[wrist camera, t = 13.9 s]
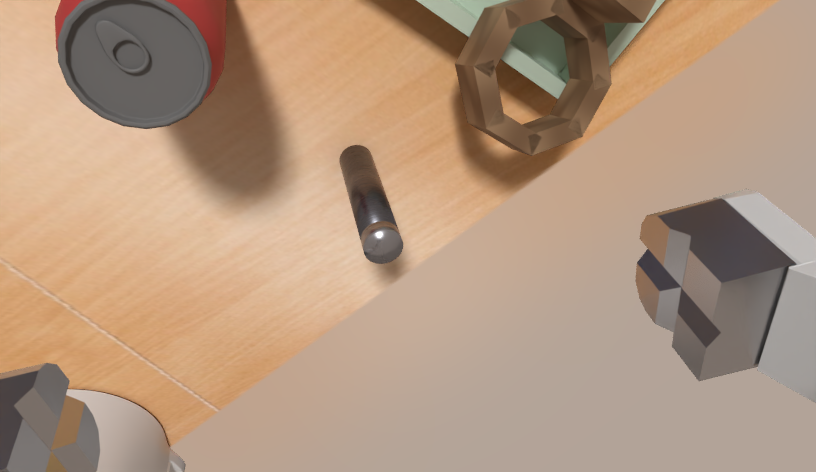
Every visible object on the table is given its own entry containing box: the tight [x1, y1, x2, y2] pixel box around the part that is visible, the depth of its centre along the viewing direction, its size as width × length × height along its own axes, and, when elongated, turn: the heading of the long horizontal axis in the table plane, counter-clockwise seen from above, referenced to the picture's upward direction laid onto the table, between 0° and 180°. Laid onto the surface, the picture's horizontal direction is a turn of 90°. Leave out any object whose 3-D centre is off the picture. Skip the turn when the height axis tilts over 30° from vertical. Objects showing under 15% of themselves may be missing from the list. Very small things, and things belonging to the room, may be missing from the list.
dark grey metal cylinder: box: [340, 145, 403, 264], centre depth 39 cm, size 2×2×10 cm
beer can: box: [55, 0, 227, 129], centre depth 29 cm, size 7×7×12 cm
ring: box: [455, 0, 656, 156], centre depth 35 cm, size 8×13×6 cm, turn 145°
